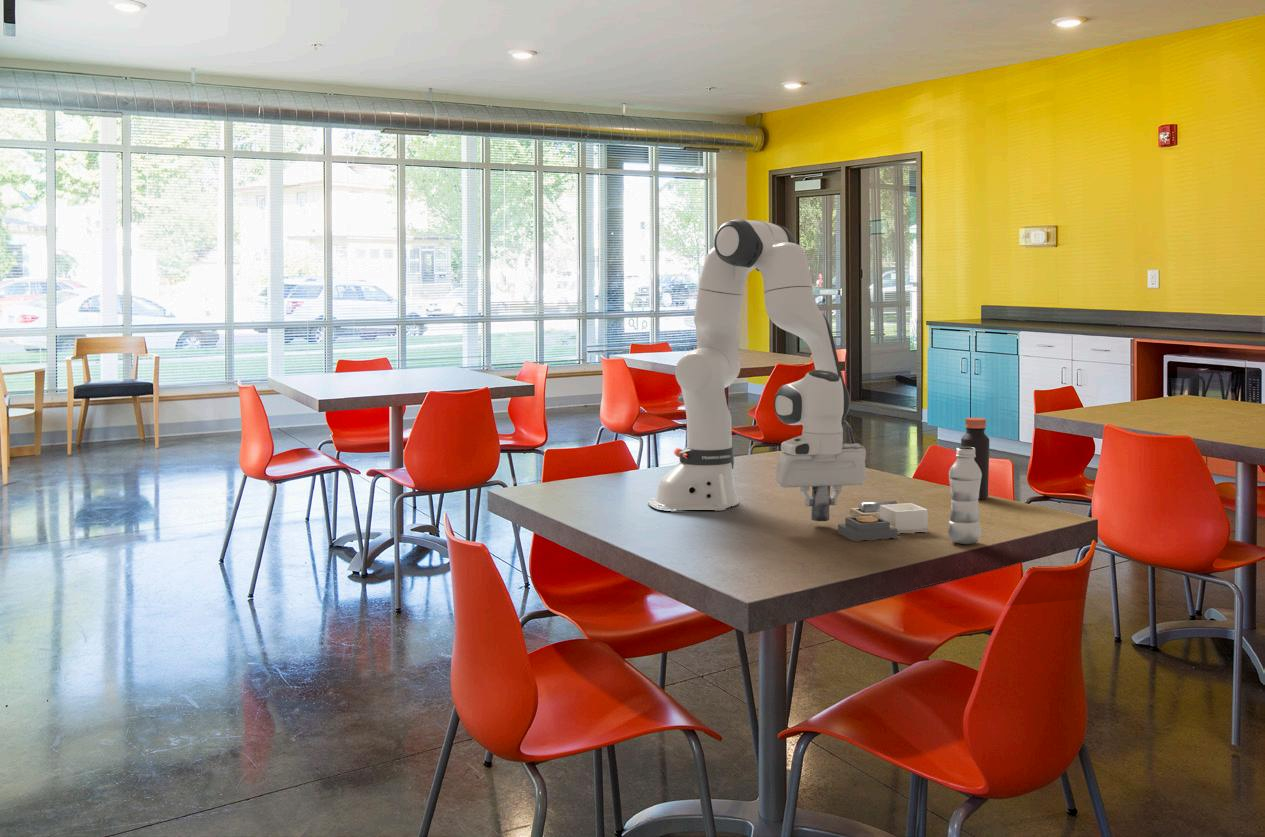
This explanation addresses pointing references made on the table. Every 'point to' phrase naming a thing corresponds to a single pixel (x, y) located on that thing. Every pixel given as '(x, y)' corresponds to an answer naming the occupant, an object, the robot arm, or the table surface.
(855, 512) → the trough
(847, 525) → the cradle
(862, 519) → the copper disc
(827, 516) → the cylinder
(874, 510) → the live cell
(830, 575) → the table surface
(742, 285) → the robot arm
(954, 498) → the plastic bottle
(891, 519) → the white square box
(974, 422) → the vinegar
